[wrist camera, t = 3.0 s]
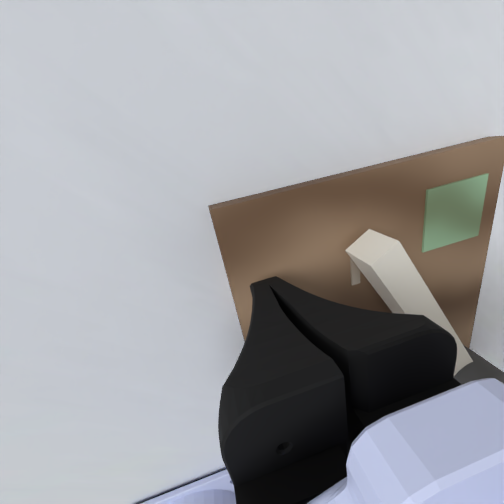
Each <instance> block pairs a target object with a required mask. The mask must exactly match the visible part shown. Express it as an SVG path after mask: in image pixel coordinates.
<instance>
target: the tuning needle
mask: <svg viewBox="0 0 504 504" xmlns="http://www.w3.org/2000/svg"><path fill="white" fill-rule="evenodd" d="M345 251H346V252H347V254H348V255H349V256H350V258H351V259H352V260H353V261H354V263H355V264H356V265H357V267H358V268H359V269H360V271H361V272H362V273H363V275H364V276H365V277H366V278H367V280H368V281H369V282H370V284H371V285H372V286H373V288H374V289H375V290H376V292H377V293H378V294H379V295H380V297H381V298H382V299H383V301H384V302H385V303H386V305H387V306H388V307H389V309H390V310H391V311H392V313H398V314H415V315H424V316H426V317H427V318H429V319H430V320H432V321H433V322H435V323H436V324H438V325H439V326H441V327H442V328H444V329H445V330H446V331H448V332H449V333H450V334H451V335H452V336H453V337H454V338H455V341H456V344H457V359H456V365H455V371H454V377H453V378H455V379H456V380H457V381H458V382H459V383H461V384H462V385H463V384H465V383H468V382H470V381H474V380H480V379H485V378H495V379H497V380H499V381H500V382H502V383H504V372H502V371H501V370H499V369H498V368H496V367H495V366H494V365H492V364H491V363H489V362H488V361H486V360H485V359H483V358H482V357H480V356H479V355H478V354H476V353H475V352H473V351H472V350H470V349H469V348H467V347H466V346H464V345H463V344H462V342H461V341H460V339H459V338H458V336H457V334H456V333H455V331H454V329H453V328H452V326H451V325H450V323H449V321H448V320H447V318H446V316H445V315H444V313H443V311H442V310H441V308H440V307H439V305H438V303H437V302H436V300H435V298H434V297H433V295H432V294H431V292H430V290H429V289H428V287H427V285H426V284H425V282H424V281H423V279H422V277H421V276H420V274H419V272H418V271H417V269H416V268H415V266H414V264H413V263H412V261H411V259H410V258H409V256H408V255H407V253H406V251H405V250H404V248H403V246H402V245H401V243H400V241H398V240H396V239H393V238H391V237H388V236H386V235H383V234H381V233H378V232H376V231H373V230H371V229H368V230H367V231H366V232H365V233H364V234H363V235H362V236H360V237H359V238H358V239H357V240H356V241H355V242H354V243H353V244H352V245H350V246H349V247H348V248H347V249H346V250H345Z"/></svg>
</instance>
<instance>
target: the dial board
mask: <svg viewBox="0 0 504 504" xmlns="http://www.w3.org/2000/svg"><path fill="white" fill-rule="evenodd" d="M503 166H504V136H493V137H486V138H482V139H478V140H474V141H469V142H465V143H461V144H457V145H453V146H449V147H445V148H441V149H437V150H433V151H429V152H425V153H421V154H417V155H413V156H409V157H405V158H401V159H396V160H392V161H388V162H384V163H380V164H376V165H372V166H368V167H364V168H360V169H356V170H352V171H348V172H344V173H340V174H336V175H332V176H327V177H323V178H319V179H315V180H311V181H307V182H303V183H299V184H295V185H291V186H287V187H283V188H279V189H275V190H271V191H267V192H263V193H258V194H254V195H250V196H246V197H242V198H238V199H234V200H230V201H226V202H222V203H218V204H214V205H210V206H208V207H209V210H210V214H211V218H212V222H213V225H214V229H215V233H216V236H217V240H218V244H219V248H220V251H221V255H222V259H223V262H224V266H225V270H226V273H227V277H228V281H229V285H230V288H231V292H232V296H233V299H234V303H235V307H236V311H237V314H238V318H239V322H240V325H241V329H242V333H243V336H244V340H246V337H247V334H248V330H249V326H250V321H251V314H252V294H251V290H250V285H251V283H254V282H257V281H261V280H264V279H267V278H271V277H274V276H277V277H279V278H281V279H283V280H284V281H286V282H288V283H290V284H292V285H294V286H296V287H298V288H300V289H302V290H304V291H306V292H309V293H311V294H313V295H316V296H318V297H321V298H324V299H326V300H330V301H333V302H336V303H339V304H343V305H347V306H351V307H356V308H361V309H366V310H372V311H379V312H387V313H392V311H391V310H390V309H389V307H388V306H387V305H386V303H385V302H384V301H383V299H382V298H381V297H380V295H379V294H378V293H377V292H376V290H375V289H374V288H373V286H372V285H371V284H370V282H369V281H368V280H367V278H366V277H365V276H364V275H363V273H362V272H361V271H360V269H359V268H358V267H357V265H356V264H355V263H354V261H353V260H352V259H351V258H350V256H349V255H348V254H347V252H346V251H345V250H346V249H347V248H348V247H349V246H350V245H352V244H353V243H354V242H355V241H356V240H357V239H358V238H359V237H360V236H362V235H363V234H364V233H365V232H366V231H367V230H368V229H371V230H373V231H376V232H378V233H381V234H383V235H386V236H388V237H391V238H393V239H396V240H398V241H400V243H401V245H402V246H403V248H404V250H405V251H406V253H407V255H408V256H409V258H410V259H411V261H412V263H413V264H414V266H415V268H416V269H417V271H418V272H419V274H420V276H421V277H422V279H423V281H424V282H425V284H426V285H427V287H428V289H429V290H430V292H431V294H432V295H433V297H434V298H435V300H436V302H437V303H438V305H439V307H440V308H441V310H442V311H443V313H444V315H445V316H446V318H447V320H448V321H449V323H450V325H451V326H452V328H453V329H454V331H455V333H456V334H457V336H458V338H459V339H460V341H461V342H462V344H463V345H464V346H466V347H467V348H469V346H470V341H471V335H472V330H473V325H474V319H475V314H476V309H477V304H478V298H479V293H480V288H481V282H482V277H483V272H484V267H485V261H486V256H487V251H488V245H489V240H490V235H491V230H492V224H493V219H494V214H495V208H496V203H497V198H498V193H499V187H500V182H501V177H502V171H503Z"/></svg>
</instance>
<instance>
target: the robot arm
mask: <svg viewBox="0 0 504 504" xmlns="http://www.w3.org/2000/svg"><path fill="white" fill-rule="evenodd" d="M250 290H251V294H252V314H251V321H250V326H249V330H248V334H247V337H246V340H245V343H244V346H243V349H242V351H241V353H240V356H239V358H238V360H237V362H236V364H235V366H234V368H233V370H232V372H231V374H230V375H229V377H228V379H227V380H226V382H225V384H224V385H223V387H222V393H221V400H220V408H219V424H218V428H219V440H220V448H221V454H222V459H223V461H224V463H225V466H226V468H227V469H226V470H223V471H221V472H218V473H216V474H213V475H211V476H208V477H206V478H203V479H201V480H198V481H196V482H193V483H191V484H188V485H185V486H183V487H180V488H178V489H175V490H173V491H170V492H168V493H165V494H163V495H160V496H158V497H155V498H153V499H150V500H148V501H145V502H143V503H140V504H504V383H502V382H500V381H499V380H497V379H495V378H485V379H480V380H474V381H470V382H468V383H465V384H463V385H462V384H461V383H459V382H458V381H457V380H456V379H455V378H453V377H454V371H455V365H456V359H457V344H456V341H455V338H454V337H453V336H452V335H451V334H450V333H449V332H448V331H446V330H445V329H444V328H442V327H441V326H439V325H438V324H436V323H435V322H433V321H432V320H430V319H429V318H427V317H426V316H424V315H415V314H398V313H387V312H379V311H372V310H366V309H361V308H356V307H351V306H347V305H343V304H339V303H336V302H333V301H330V300H326V299H324V298H321V297H318V296H316V295H313V294H311V293H309V292H306V291H304V290H302V289H300V288H298V287H296V286H294V285H292V284H290V283H288V282H286V281H284V280H283V279H281V278H279V277H277V276H274V277H271V278H267V279H264V280H261V281H257V282H254V283H251V285H250Z"/></svg>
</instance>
